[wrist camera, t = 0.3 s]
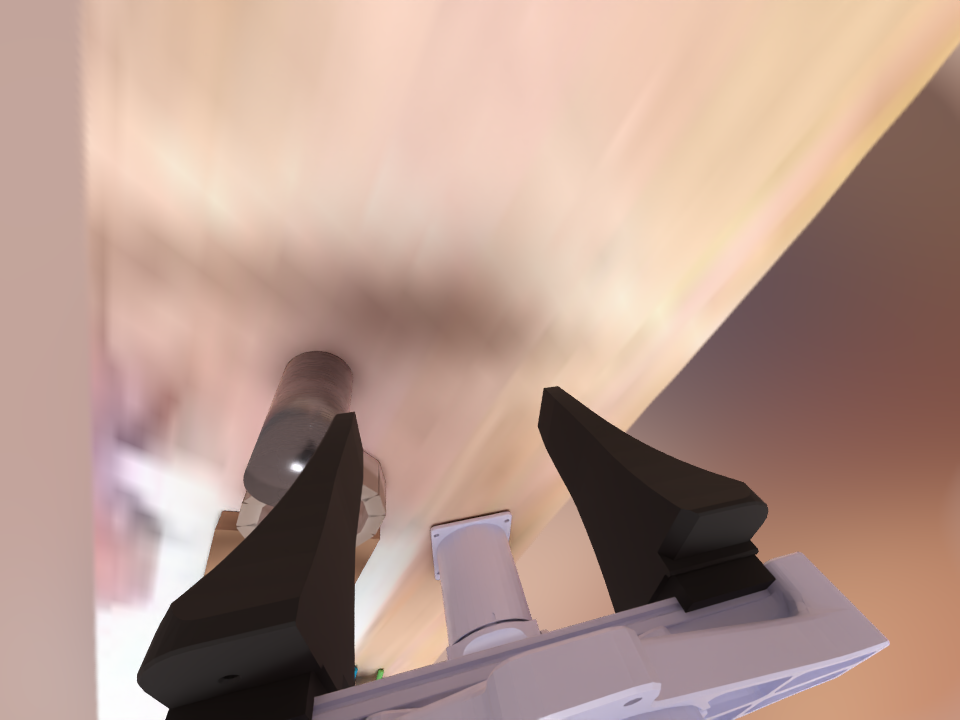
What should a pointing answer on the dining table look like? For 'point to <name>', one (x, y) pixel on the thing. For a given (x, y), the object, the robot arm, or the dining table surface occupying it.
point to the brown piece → (253, 511)
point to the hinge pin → (297, 422)
